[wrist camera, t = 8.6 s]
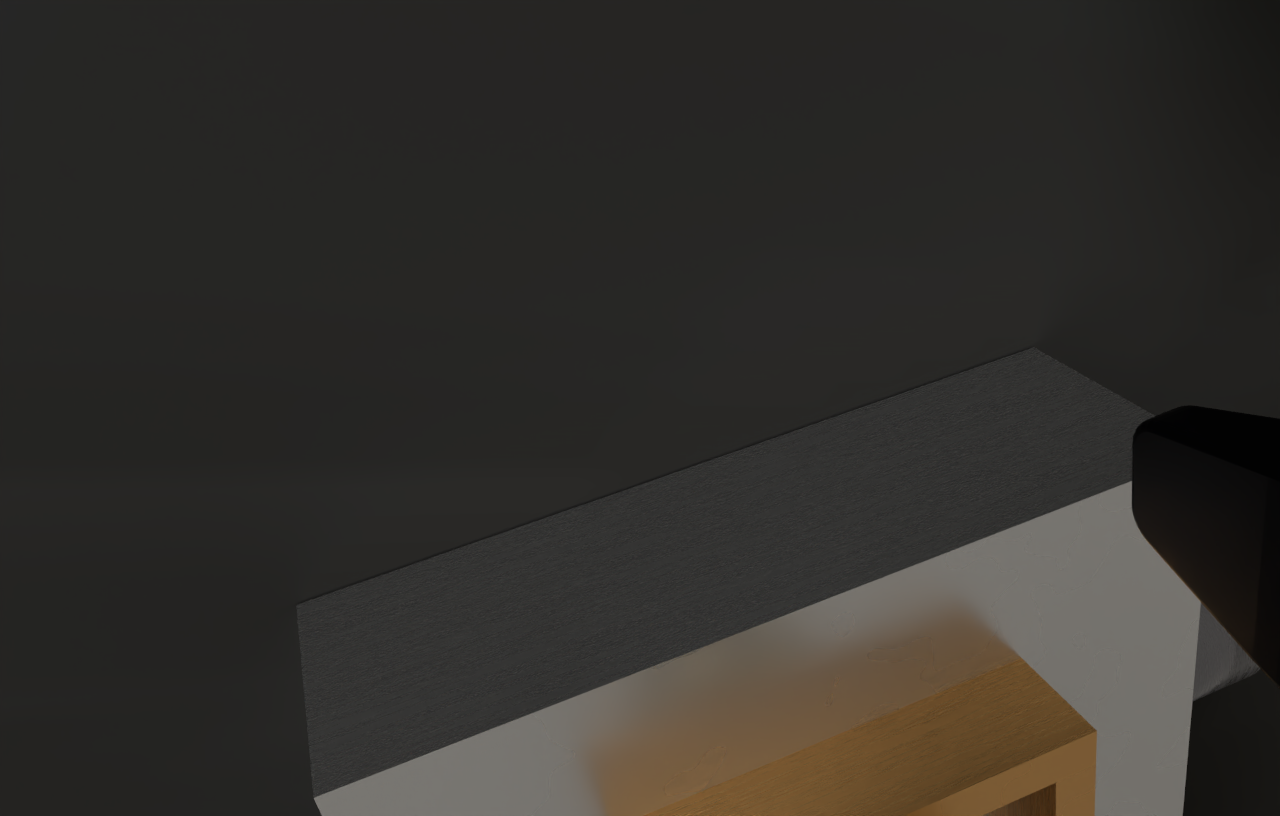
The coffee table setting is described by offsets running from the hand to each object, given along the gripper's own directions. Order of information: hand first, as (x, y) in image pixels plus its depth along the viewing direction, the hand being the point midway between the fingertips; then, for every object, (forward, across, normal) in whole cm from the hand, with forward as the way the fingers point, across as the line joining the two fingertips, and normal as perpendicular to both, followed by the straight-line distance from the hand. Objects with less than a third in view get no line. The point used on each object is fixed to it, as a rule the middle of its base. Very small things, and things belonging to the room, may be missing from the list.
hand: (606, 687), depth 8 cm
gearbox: (+12, -5, +13) cm, 19 cm away
